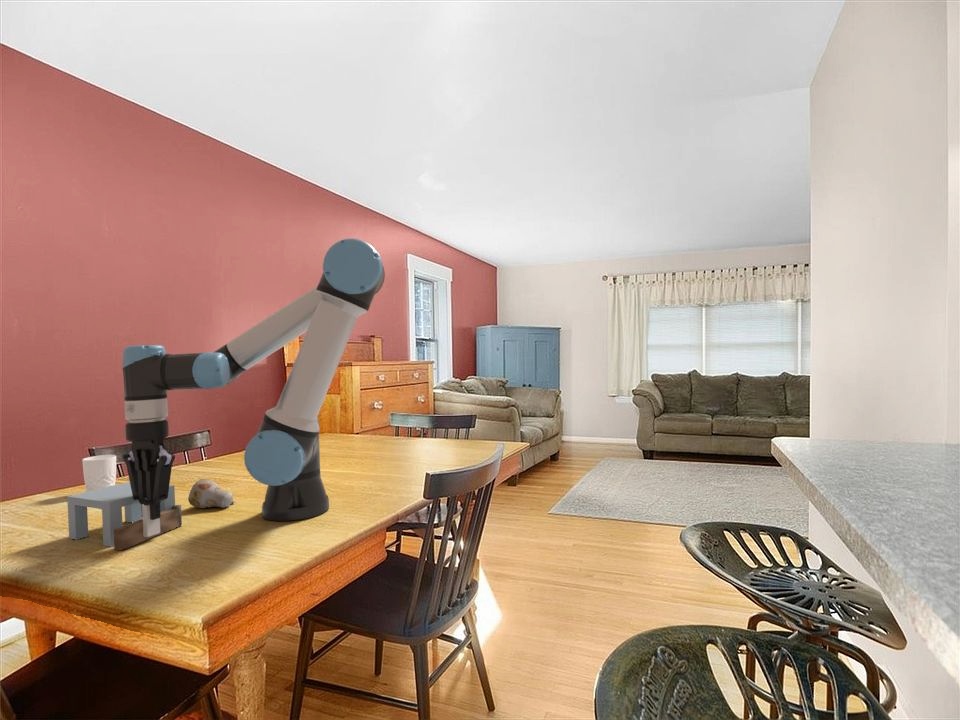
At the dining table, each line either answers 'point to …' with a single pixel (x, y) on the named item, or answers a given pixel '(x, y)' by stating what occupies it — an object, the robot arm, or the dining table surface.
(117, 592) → the dining table surface
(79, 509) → the stool
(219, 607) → the dining table surface
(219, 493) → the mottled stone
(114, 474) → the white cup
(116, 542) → the brown wooden plank
